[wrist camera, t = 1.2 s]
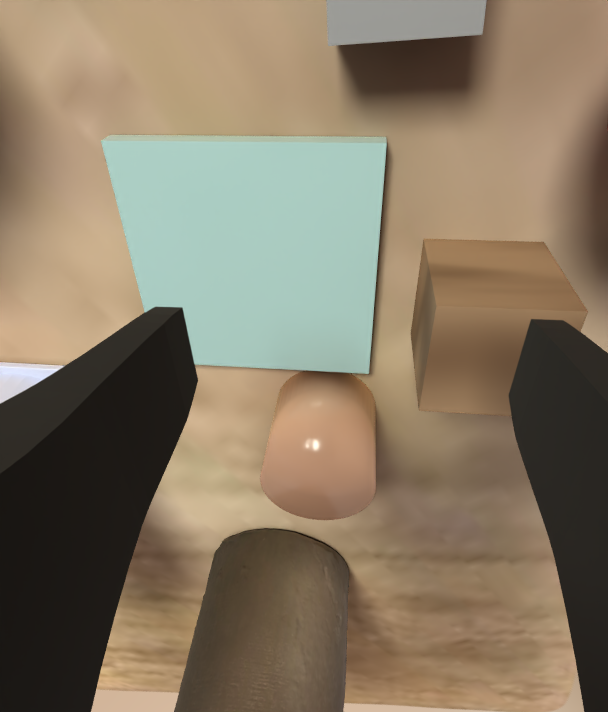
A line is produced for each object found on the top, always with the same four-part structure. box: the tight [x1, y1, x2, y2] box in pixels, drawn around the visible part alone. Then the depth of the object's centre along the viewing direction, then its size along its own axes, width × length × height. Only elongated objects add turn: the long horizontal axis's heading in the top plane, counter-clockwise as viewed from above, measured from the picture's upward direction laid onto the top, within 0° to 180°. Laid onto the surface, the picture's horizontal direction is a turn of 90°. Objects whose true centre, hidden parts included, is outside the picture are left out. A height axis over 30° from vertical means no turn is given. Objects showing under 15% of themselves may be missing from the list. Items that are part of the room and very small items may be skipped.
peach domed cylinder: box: [260, 370, 376, 520], centre depth 23 cm, size 5×5×5 cm
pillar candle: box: [174, 529, 349, 712], centre depth 30 cm, size 10×10×15 cm
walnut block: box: [411, 239, 588, 416], centre depth 19 cm, size 4×4×5 cm
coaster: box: [101, 135, 387, 374], centre depth 20 cm, size 10×10×1 cm
